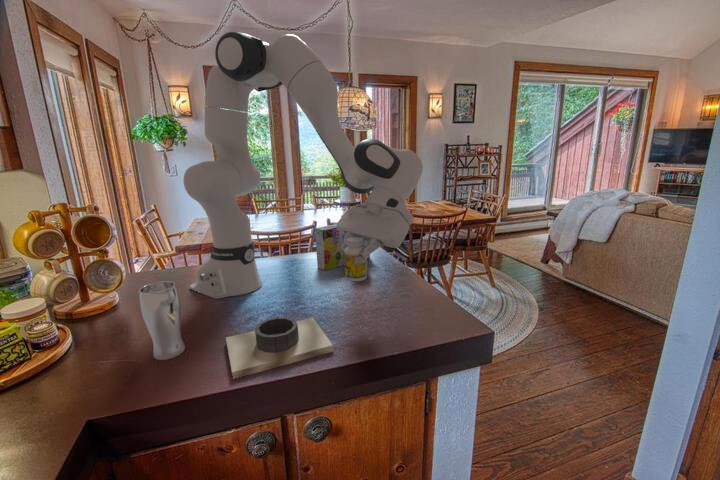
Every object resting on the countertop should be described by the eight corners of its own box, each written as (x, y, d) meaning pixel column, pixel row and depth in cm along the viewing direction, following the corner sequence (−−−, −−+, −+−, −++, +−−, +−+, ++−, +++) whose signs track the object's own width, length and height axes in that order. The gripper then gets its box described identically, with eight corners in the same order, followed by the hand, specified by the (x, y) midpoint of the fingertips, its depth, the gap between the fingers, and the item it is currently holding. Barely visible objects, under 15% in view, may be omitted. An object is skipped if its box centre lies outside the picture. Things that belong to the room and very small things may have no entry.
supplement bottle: (370, 279, 82) (370, 240, 80) (349, 283, 80) (348, 243, 78) (361, 272, 87) (361, 235, 85) (341, 275, 85) (340, 238, 83)
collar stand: (233, 379, 65) (229, 355, 63) (226, 343, 77) (223, 323, 76) (333, 351, 73) (332, 330, 72) (312, 323, 85) (311, 304, 84)
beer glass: (162, 365, 70) (148, 296, 66) (144, 355, 73) (130, 289, 70) (194, 348, 75) (183, 284, 72) (175, 340, 79) (164, 278, 75)
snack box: (361, 255, 139) (360, 218, 135) (370, 258, 135) (369, 220, 131) (316, 267, 126) (314, 227, 122) (325, 271, 122) (323, 229, 118)
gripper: (348, 195, 91) (319, 238, 87) (407, 203, 76) (376, 255, 72) (361, 210, 95) (334, 252, 91) (420, 220, 80) (390, 270, 76)
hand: (353, 253), depth 82 cm, fingers closed on supplement bottle, 5 cm apart
